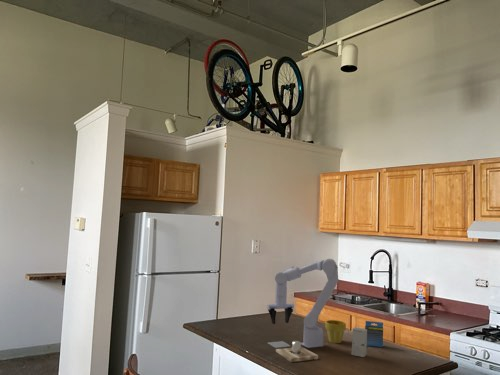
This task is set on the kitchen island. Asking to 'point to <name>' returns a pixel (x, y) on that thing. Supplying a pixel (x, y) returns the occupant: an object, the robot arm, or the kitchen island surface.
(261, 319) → the kitchen island surface
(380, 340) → the label tape box
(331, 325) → the plant pot
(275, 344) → the pad
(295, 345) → the steel peg
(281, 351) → the hole plate
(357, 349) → the skincare box
